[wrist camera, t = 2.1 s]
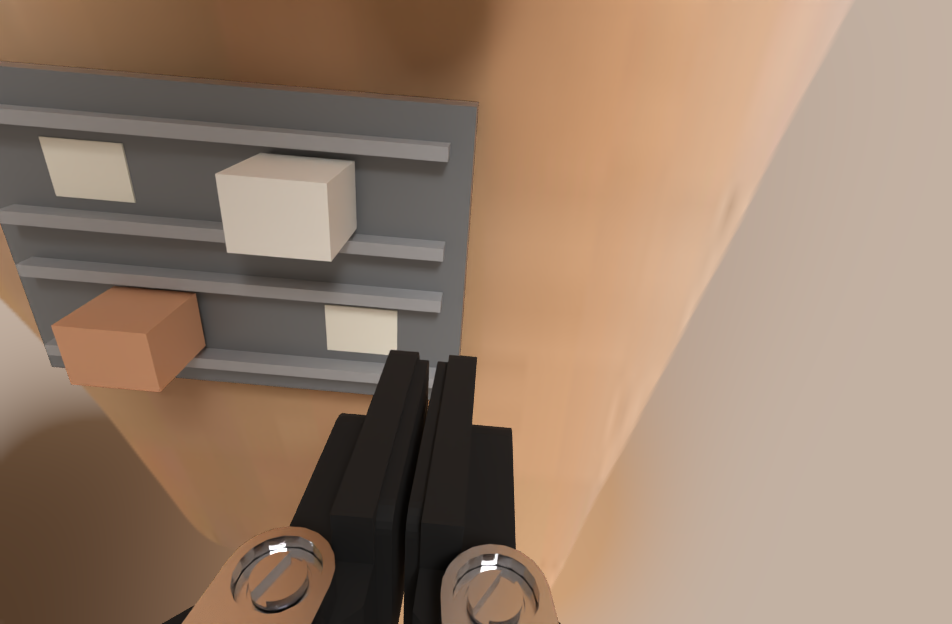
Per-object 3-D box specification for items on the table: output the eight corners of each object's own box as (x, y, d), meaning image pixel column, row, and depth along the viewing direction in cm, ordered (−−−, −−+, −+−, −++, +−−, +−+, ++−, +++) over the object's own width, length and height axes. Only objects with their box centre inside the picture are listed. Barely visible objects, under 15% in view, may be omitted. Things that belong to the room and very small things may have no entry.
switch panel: (-15, 59, 23) (-83, 61, 20) (478, 102, 23) (476, 110, 20) (78, 347, 30) (37, 377, 27) (458, 380, 30) (454, 413, 27)
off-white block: (260, 152, 22) (214, 173, 19) (354, 160, 22) (326, 183, 19) (268, 220, 23) (227, 252, 20) (356, 228, 23) (331, 261, 20)
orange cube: (114, 285, 25) (50, 325, 22) (195, 292, 25) (145, 333, 22) (128, 338, 27) (71, 384, 23) (205, 345, 27) (160, 392, 23)
